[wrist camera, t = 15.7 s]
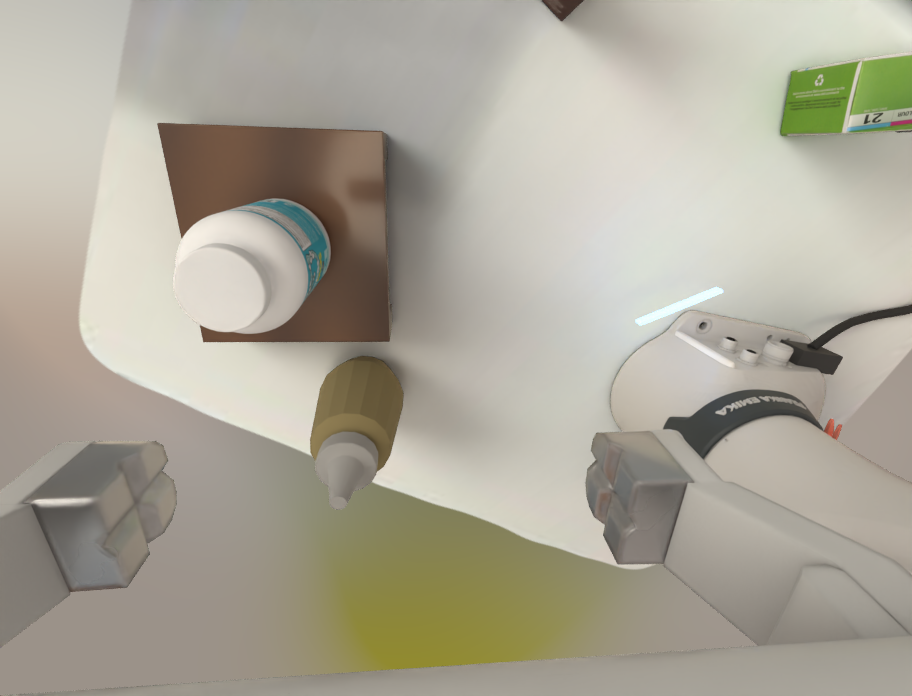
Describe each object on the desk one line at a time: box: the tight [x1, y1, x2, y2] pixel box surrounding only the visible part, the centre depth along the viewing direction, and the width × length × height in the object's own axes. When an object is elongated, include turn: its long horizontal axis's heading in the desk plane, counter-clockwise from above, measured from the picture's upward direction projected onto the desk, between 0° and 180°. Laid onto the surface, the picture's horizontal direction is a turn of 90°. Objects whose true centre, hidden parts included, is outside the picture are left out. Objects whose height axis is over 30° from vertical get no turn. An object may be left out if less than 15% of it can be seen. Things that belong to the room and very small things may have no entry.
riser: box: [158, 123, 392, 342], centre depth 38 cm, size 16×17×5 cm
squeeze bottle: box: [310, 356, 403, 510], centre depth 39 cm, size 8×8×18 cm
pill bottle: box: [173, 199, 331, 334], centre depth 30 cm, size 8×7×14 cm
